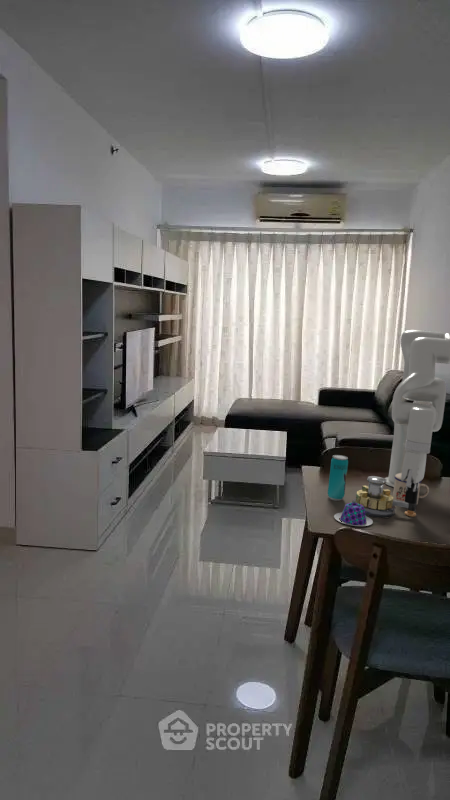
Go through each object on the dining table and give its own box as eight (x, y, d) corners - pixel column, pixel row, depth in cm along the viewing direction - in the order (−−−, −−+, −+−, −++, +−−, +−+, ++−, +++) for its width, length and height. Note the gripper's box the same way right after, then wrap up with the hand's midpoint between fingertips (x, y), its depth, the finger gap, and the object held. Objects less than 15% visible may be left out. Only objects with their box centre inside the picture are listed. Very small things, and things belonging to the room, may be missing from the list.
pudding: (343, 511, 200) (345, 496, 199) (378, 521, 193) (380, 505, 193) (327, 520, 191) (329, 504, 190) (363, 531, 184) (365, 515, 183)
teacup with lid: (392, 504, 211) (396, 471, 209) (390, 496, 220) (395, 465, 218) (428, 509, 209) (433, 476, 207) (425, 501, 218) (430, 469, 216)
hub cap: (369, 500, 213) (373, 470, 211) (403, 513, 202) (407, 482, 200) (342, 506, 204) (346, 475, 202) (377, 520, 193) (381, 487, 192)
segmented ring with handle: (353, 505, 199) (356, 482, 198) (358, 495, 210) (360, 473, 209) (414, 516, 193) (418, 493, 192) (416, 505, 204) (419, 483, 203)
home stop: (408, 512, 204) (411, 489, 203) (418, 515, 201) (421, 492, 200) (402, 513, 202) (405, 490, 200) (411, 517, 199) (414, 493, 198)
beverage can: (343, 502, 209) (348, 459, 206) (326, 500, 210) (331, 457, 207) (343, 497, 214) (348, 455, 212) (327, 495, 215) (332, 453, 213)
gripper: (412, 441, 200) (405, 495, 203) (398, 447, 188) (391, 504, 191) (436, 445, 196) (428, 500, 199) (423, 452, 184) (415, 510, 187)
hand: (410, 502), depth 195 cm, fingers closed
